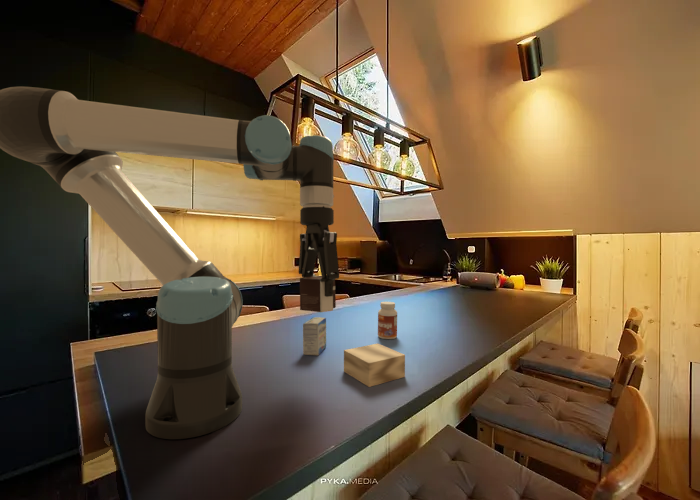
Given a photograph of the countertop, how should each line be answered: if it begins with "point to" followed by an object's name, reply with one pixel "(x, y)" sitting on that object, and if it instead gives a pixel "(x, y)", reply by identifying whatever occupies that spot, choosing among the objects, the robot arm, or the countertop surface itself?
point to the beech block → (374, 364)
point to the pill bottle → (387, 321)
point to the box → (312, 293)
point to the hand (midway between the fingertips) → (317, 307)
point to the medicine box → (314, 336)
